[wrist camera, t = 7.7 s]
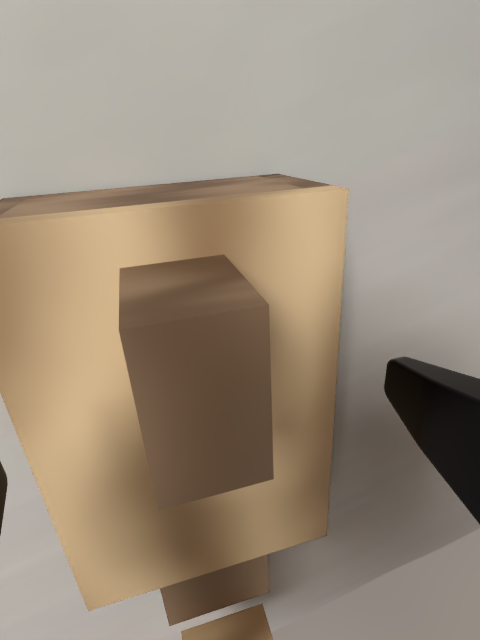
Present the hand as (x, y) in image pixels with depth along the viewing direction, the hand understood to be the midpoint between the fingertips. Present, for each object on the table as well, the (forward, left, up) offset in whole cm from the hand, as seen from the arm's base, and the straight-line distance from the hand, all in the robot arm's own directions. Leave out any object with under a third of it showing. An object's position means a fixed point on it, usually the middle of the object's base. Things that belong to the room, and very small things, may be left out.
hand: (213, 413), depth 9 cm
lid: (0, +4, -5) cm, 6 cm away
